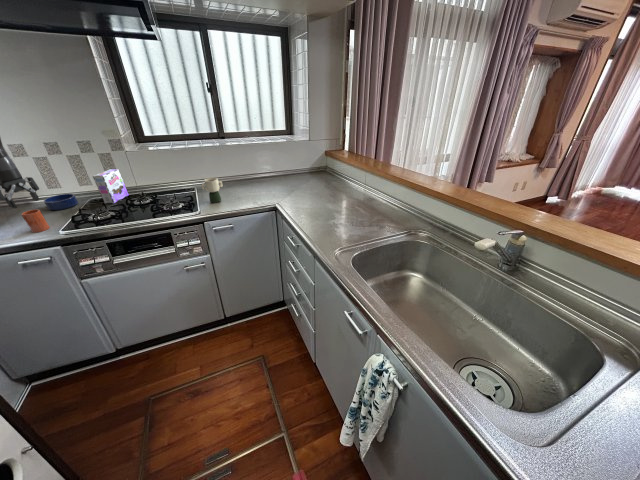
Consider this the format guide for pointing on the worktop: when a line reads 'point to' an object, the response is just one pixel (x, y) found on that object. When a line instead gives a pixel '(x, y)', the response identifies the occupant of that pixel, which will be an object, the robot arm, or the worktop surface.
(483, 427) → the worktop surface
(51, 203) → the bowl
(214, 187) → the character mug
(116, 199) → the candy box
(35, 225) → the cup
